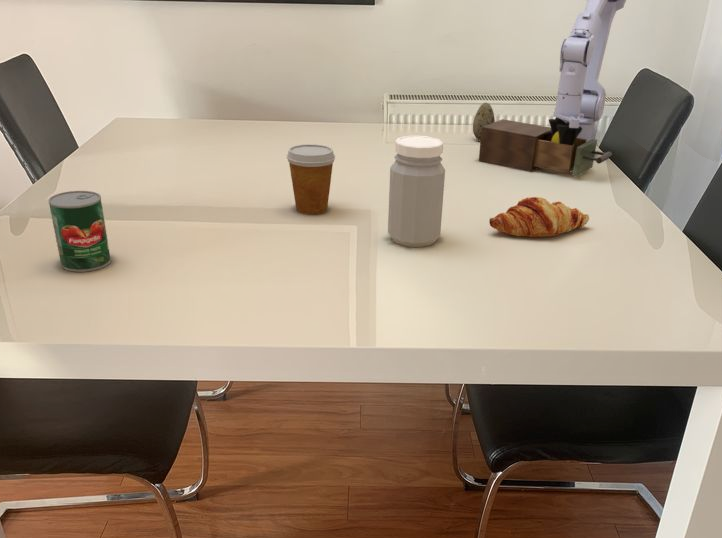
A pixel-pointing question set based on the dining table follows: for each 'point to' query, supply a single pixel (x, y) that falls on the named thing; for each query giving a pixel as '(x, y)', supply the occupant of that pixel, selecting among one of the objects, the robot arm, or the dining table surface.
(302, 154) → the disposable coffee cup
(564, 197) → the dining table surface
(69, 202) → the canned tomato
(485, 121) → the decorative egg
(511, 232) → the croissant
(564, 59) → the robot arm
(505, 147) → the cabinet
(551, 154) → the drawer
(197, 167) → the dining table surface
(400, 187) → the jar
